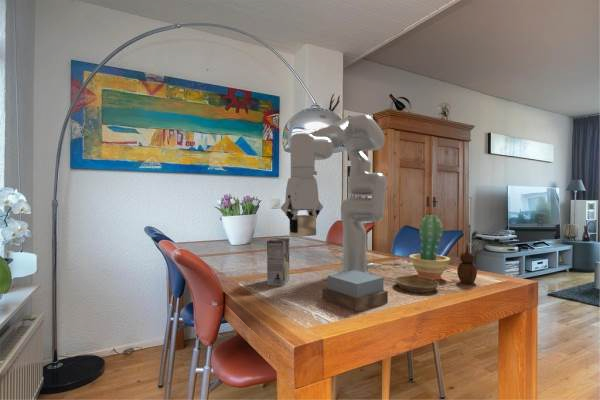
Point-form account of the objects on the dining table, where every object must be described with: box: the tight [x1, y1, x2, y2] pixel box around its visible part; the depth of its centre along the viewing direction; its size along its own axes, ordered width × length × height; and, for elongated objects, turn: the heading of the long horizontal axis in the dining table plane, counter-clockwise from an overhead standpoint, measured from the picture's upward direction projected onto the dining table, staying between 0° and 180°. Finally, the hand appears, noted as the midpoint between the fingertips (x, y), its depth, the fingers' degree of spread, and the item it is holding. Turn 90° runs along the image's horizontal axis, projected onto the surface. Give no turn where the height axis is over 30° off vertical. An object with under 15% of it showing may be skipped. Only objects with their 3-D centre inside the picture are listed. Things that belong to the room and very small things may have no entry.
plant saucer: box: [394, 275, 440, 294], centre depth 109 cm, size 15×15×3 cm
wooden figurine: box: [456, 243, 478, 284], centre depth 116 cm, size 7×6×15 cm
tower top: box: [327, 270, 384, 298], centre depth 95 cm, size 12×12×4 cm
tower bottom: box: [321, 286, 389, 313], centre depth 95 cm, size 14×14×4 cm
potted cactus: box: [409, 214, 451, 281], centre depth 124 cm, size 15×15×25 cm
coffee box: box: [266, 237, 290, 287], centre depth 115 cm, size 9×6×16 cm
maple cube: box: [288, 214, 317, 238], centre depth 96 cm, size 6×6×6 cm
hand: (302, 231), depth 96 cm, fingers closed on maple cube, 6 cm apart
